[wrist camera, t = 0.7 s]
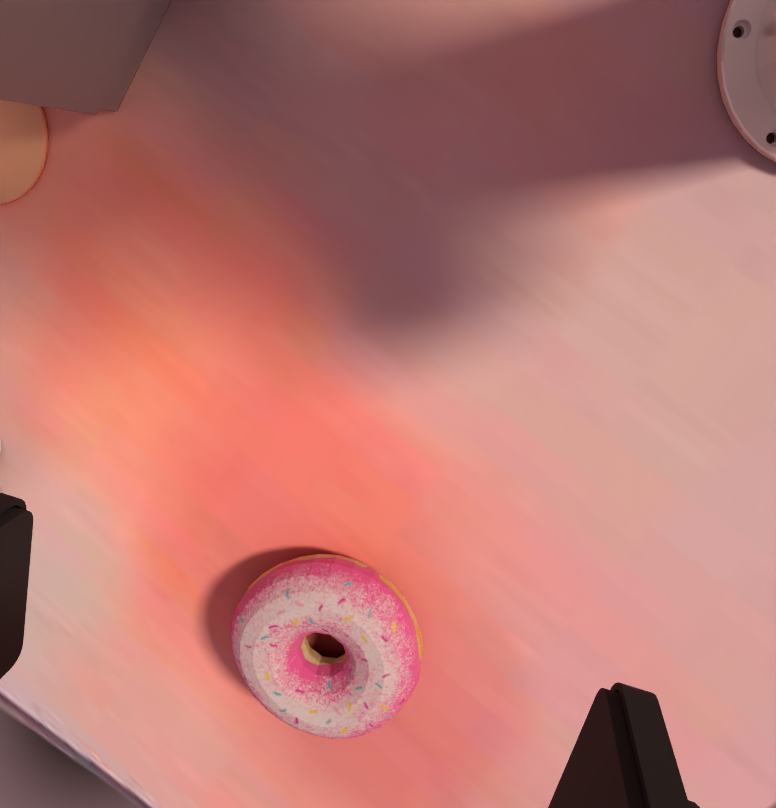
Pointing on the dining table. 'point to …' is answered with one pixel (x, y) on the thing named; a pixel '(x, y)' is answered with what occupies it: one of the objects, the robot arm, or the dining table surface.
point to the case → (74, 50)
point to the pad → (21, 148)
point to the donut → (347, 623)
